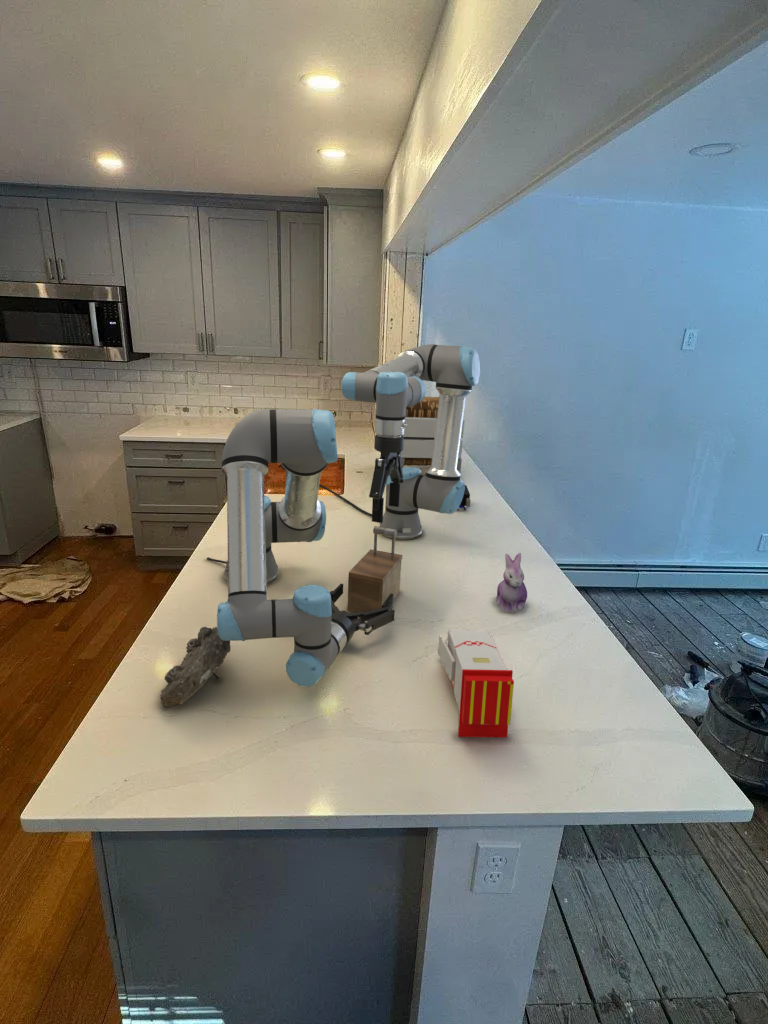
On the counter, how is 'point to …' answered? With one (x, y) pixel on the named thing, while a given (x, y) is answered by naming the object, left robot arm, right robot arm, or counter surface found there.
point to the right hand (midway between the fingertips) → (385, 513)
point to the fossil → (195, 666)
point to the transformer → (422, 434)
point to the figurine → (512, 586)
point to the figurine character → (465, 499)
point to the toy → (478, 682)
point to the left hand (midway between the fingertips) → (366, 593)
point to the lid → (377, 560)
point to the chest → (372, 591)
